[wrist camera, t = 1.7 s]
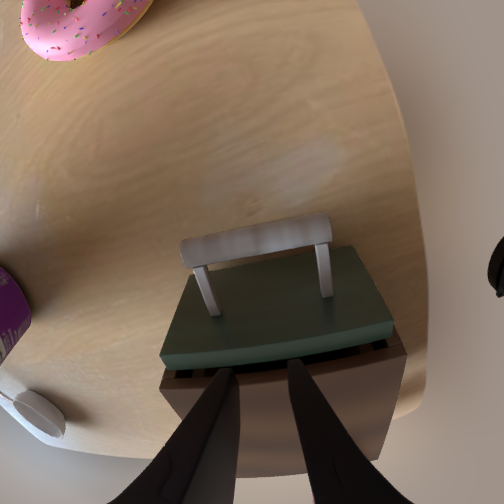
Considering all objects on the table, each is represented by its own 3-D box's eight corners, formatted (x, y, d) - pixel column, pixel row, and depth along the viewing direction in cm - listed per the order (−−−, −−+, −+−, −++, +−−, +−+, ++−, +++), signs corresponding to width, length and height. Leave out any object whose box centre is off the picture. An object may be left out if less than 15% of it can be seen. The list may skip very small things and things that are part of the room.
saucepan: (69, 429, 39) (62, 445, 36) (-4, 380, 35) (-13, 393, 32) (70, 411, 35) (62, 429, 31) (-13, 352, 31) (-23, 367, 27)
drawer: (168, 216, 18) (118, 281, 12) (345, 179, 17) (397, 229, 10) (238, 389, 26) (232, 459, 19) (355, 371, 25) (372, 440, 18)
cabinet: (192, 288, 22) (158, 389, 14) (358, 258, 20) (408, 354, 12) (240, 398, 28) (233, 478, 20) (358, 379, 27) (378, 459, 18)
